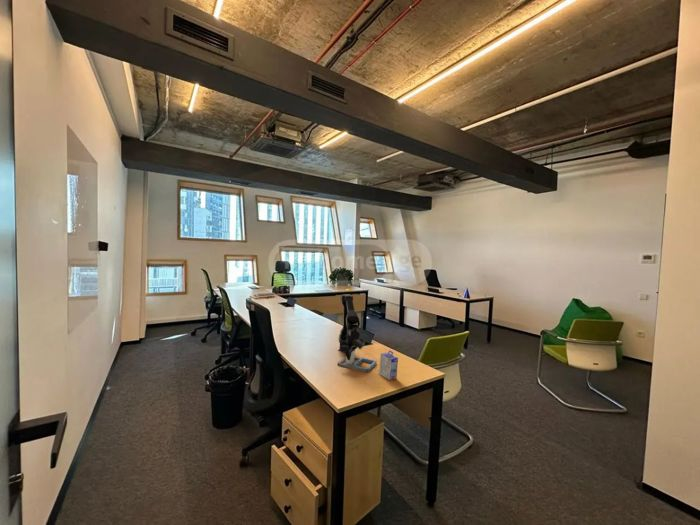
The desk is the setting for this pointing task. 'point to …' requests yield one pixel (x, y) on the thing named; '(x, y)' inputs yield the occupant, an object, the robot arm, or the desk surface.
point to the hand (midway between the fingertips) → (350, 358)
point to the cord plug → (351, 358)
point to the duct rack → (355, 365)
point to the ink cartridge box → (388, 365)
